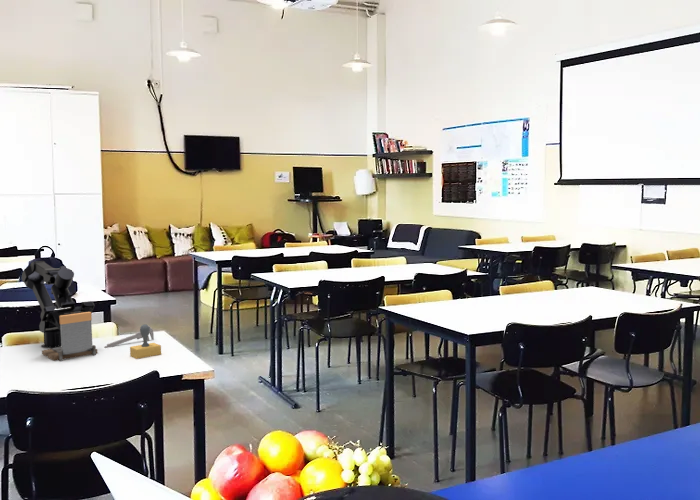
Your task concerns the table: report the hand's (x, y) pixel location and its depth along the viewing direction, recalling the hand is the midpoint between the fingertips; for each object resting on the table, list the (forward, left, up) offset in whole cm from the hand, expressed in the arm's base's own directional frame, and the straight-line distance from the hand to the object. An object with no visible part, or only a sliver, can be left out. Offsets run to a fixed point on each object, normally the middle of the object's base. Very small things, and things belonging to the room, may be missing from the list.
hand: (74, 328), depth 256 cm
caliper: (+7, +24, -11) cm, 27 cm away
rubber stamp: (+24, +10, -11) cm, 28 cm away
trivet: (-4, +3, -11) cm, 12 cm away
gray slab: (+1, -1, -8) cm, 8 cm away
